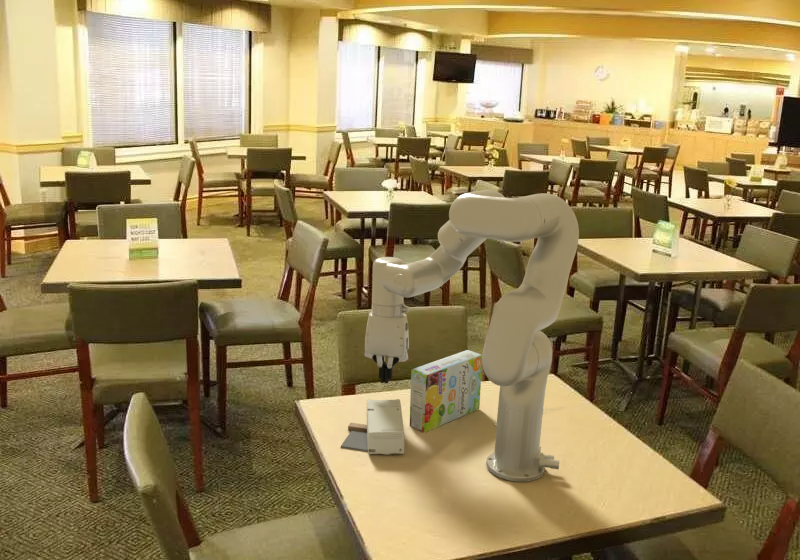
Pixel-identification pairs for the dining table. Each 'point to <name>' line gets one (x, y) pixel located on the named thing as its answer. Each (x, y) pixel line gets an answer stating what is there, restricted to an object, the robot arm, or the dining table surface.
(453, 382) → the snack box
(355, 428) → the rail
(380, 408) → the skincare box
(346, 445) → the mat
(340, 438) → the dining table surface
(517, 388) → the robot arm
